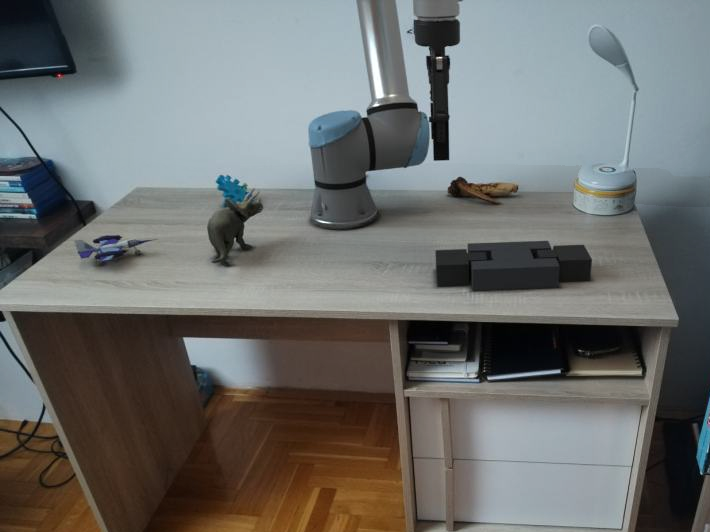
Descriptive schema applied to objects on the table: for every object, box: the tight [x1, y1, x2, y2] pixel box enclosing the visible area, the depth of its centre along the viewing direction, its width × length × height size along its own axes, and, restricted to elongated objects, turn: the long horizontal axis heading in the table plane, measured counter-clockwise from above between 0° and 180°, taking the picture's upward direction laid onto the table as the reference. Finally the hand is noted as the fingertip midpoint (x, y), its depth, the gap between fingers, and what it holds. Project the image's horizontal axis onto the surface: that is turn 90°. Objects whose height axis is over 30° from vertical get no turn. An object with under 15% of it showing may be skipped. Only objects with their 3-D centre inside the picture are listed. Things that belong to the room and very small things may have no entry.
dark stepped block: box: [537, 244, 593, 283], centre depth 124 cm, size 7×10×4 cm
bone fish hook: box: [447, 176, 520, 205], centre depth 162 cm, size 9×5×18 cm
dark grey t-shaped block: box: [434, 248, 487, 287], centre depth 123 cm, size 7×10×4 cm
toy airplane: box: [74, 234, 158, 266], centre depth 133 cm, size 13×14×4 cm
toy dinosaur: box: [206, 188, 264, 267], centre depth 131 cm, size 22×8×11 cm, turn 168°
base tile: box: [467, 240, 560, 292], centre depth 124 cm, size 12×16×4 cm
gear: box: [214, 174, 255, 207], centre depth 159 cm, size 11×6×10 cm
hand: (439, 149), depth 117 cm, fingers open, 13 cm apart
